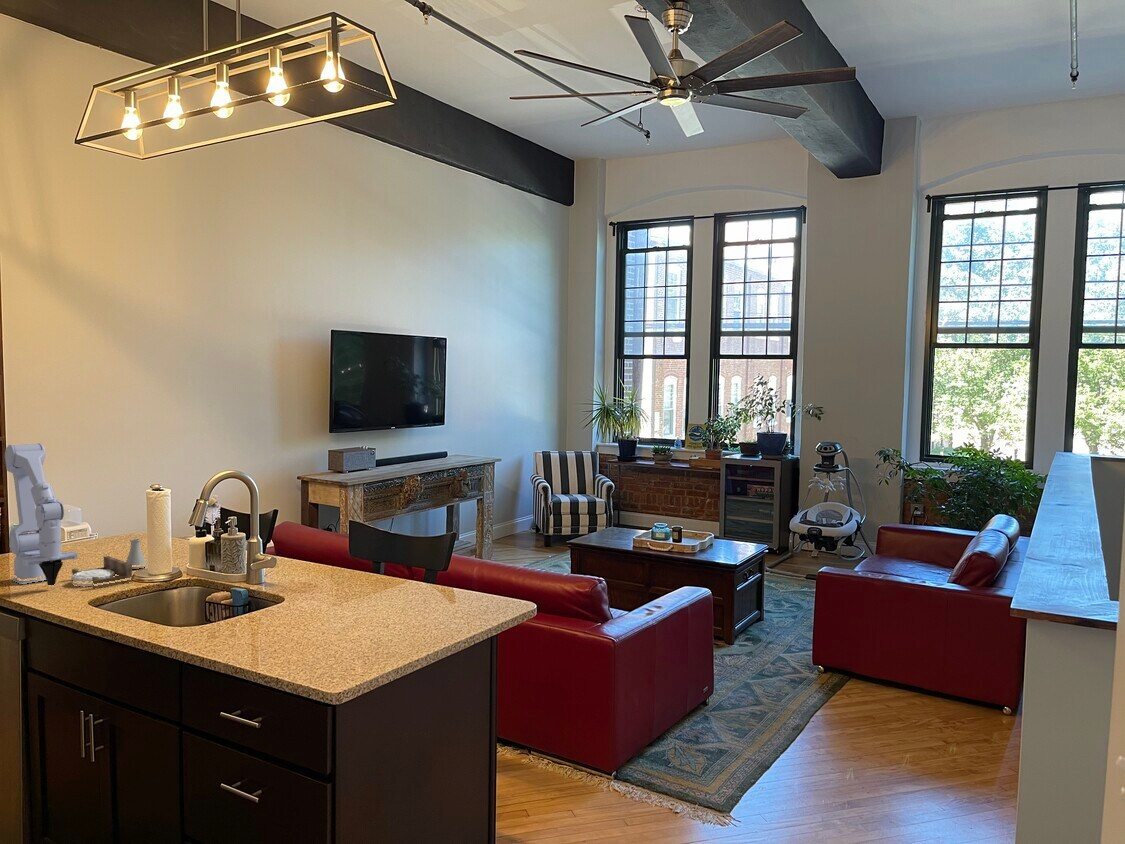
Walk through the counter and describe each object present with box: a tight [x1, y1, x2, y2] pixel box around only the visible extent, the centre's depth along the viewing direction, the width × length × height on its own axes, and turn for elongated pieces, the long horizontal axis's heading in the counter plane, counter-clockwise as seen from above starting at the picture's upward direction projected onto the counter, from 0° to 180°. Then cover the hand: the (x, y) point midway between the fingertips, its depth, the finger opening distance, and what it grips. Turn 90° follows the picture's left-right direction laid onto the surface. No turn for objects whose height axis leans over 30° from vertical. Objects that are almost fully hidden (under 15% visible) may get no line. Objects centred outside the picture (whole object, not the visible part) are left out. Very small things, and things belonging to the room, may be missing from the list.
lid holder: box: [71, 555, 133, 589], centre depth 266 cm, size 18×11×6 cm, turn 50°
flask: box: [125, 538, 148, 570], centre depth 284 cm, size 7×7×10 cm
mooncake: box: [71, 568, 115, 586], centre depth 264 cm, size 12×12×4 cm
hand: (51, 585), depth 255 cm, fingers closed
